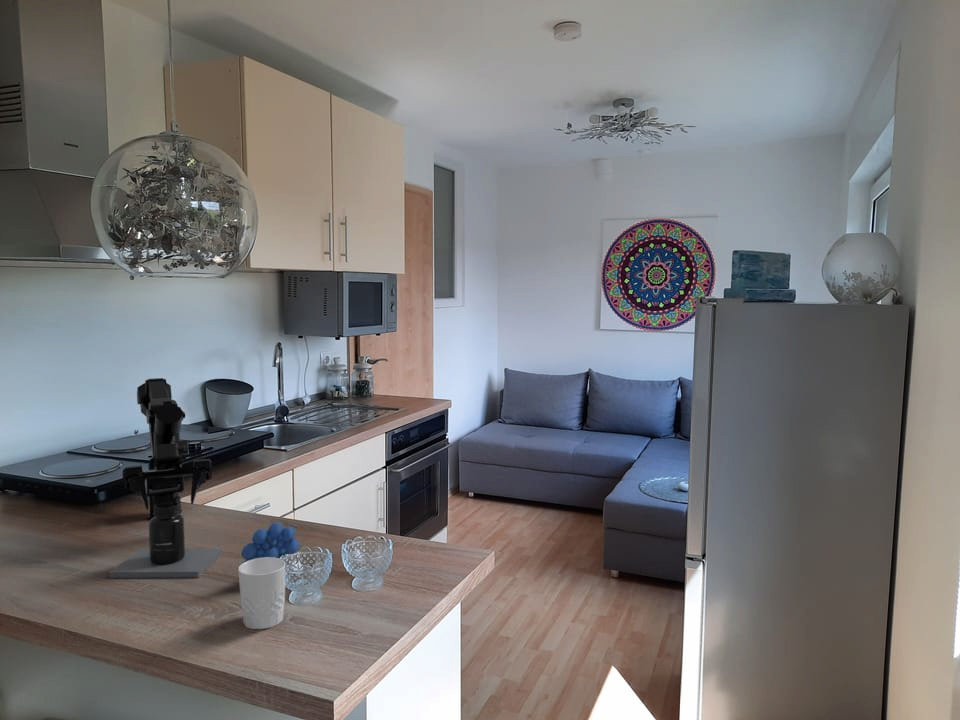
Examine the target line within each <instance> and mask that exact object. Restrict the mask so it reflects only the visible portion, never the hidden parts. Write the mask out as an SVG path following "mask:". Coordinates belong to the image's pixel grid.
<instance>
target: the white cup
mask: <svg viewBox="0 0 960 720" xmlns="http://www.w3.org/2000/svg"><path fill="white" fill-rule="evenodd" d="M242 563H243V562H242ZM285 570H286V563H285V561H284V560H282V559H280V558H274V557H264V558H257V559H253V560H249V561H247V562H245V563H243V564H240V565H239V566H238V569H237V572H238V582H239V594H240V603H241V604H240V606H241V610H242V621H243V622H242V623H243V625H244V626H245V627H246V628H247V629H248V628H249V629H251V630H264V629H269V628H273V627H275V626H278V625H279V624H280V623H282V622H283V621H284V617H285V616H284V613H285V601H286V600H285V599H286V597H285V596H286V571H287V570H286V571H285Z"/></svg>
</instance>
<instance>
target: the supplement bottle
mask: <svg viewBox="0 0 960 720" xmlns="http://www.w3.org/2000/svg"><path fill="white" fill-rule="evenodd" d="M178 512H179V503H177V502H161V503H158V504H156V505H154V515H155V517H153V518H152V519H149V523H148V534H149V535H148V536H149V537H148V540H149V541H148V542H149V544H148V545H149V547H148V548H149V549H150V561H151V562H152V563H154V564H158V565H165V564H172V563H175V562H178V561H180V560H182V559H183V558H184V556H185V548H186V545H185V542H186V541H185V538H186V537H185V536H186V534H185V519H184V517H183V516H182V514H180V513H179V514H178Z"/></svg>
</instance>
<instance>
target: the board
mask: <svg viewBox="0 0 960 720" xmlns="http://www.w3.org/2000/svg"><path fill="white" fill-rule="evenodd" d="M223 551H224V550H223V548H222V547H208V548H207V547H197V548H196V547H187V548H186V547H185V556H184V558H183V559H182V560H180V561H178V562H175V563H172V564H165V565H158V564H154V563H152V562H151V561H150V549H149V547H148V548H139V550H137V551H136V552H135V553H133V554H132V555H131V556H130V557H128V558H127V559H125V560H124V561H123V562H121V563H120V564H119V565H117V566H115V568H113V569H112V570H111V571H109V578H110V579H130V578H131V579H135V578H136V579H137V578H138V579H140V578H141V579H143V578H144V579H145V578H146V579H147V578H148V579H150V578H151V579H153V578H155V579H156V578H158V579H159V578H160V579H161V578H162V579H163V578H164V579H165V578H168V579H169V578H170V579H171V578H173V579H175V578H176V579H177V578H182V579H183V578H184V579H186V578H188V579H189V578H200V577H201V575H203V574H204V573H205V572H206V571H207V570H208V569H209V568H210V567H211V565H213V564H214V562H216V560H217V559H219V558H220V557H221V555H223Z"/></svg>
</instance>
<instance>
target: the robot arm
mask: <svg viewBox="0 0 960 720" xmlns="http://www.w3.org/2000/svg"><path fill="white" fill-rule="evenodd" d="M171 386H172V385H171V384H170V383H168V382H167V379H166V378H163V377H160V378H159V377H158V378H148V379H145V381H144V383H143V384H141V385H139V386H137V389H136V390H137V391H136V402H137V405H139V406H140V412H141V414H143V415H144V416H145V417H146V424H148V431H149V437H150V448H151V454H152V457H151V458H150V459H149V461H148V465H147V470H143V464H141V465H133V466H132V465H131V466H125V467H124V468H123V469H122V482H123V489H126V490H129V489H130V491H131V492H136V494H137V495H138V497H140V500H141V502H142V504H143V505H144V507H145V509H146V510H149V515H148V516H147V517H146V519H147V520H151V519H152V518H153V517H155V515H154V505H156V504H158V503H161V502H177V503H179V512H178V514H180V513H182V512H183V509H182V506H181V505H182V504H181V496H179V493H182V492H183V491H185V477H186V476H192V480H191V489H190V490H191V491H190V504H191V505H193V504H194V502H195V500H196V497H197V494H198V491H199V489H200V487H201V486H202V484H206V483H207V481H210V480H212V477H213V476H212V475H213V462H212V460H211V459H210V458H206V459H196V460H195V459H194V460H193V464H192V465H193V466H182V463H183V460H182V459H183V458H182V456H185V455H186V456H188V454H189V442H188V439H182V440H181V438H180V437H181V435H180V432H181V430H182V421H184V419H186V412H184V411H183V409H182V408H181V407H180V406H178V403H177V401H176V400H175V399H172V398H173V396H172V387H171ZM148 498H149V499H148Z"/></svg>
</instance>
